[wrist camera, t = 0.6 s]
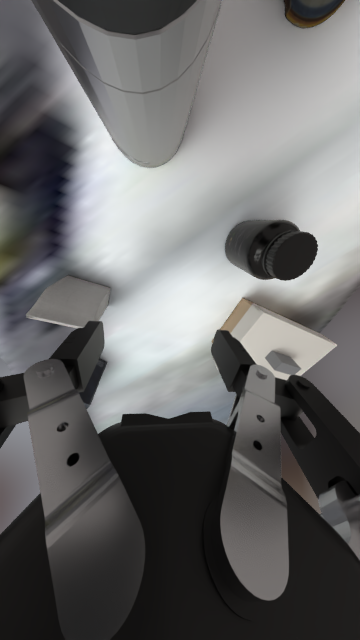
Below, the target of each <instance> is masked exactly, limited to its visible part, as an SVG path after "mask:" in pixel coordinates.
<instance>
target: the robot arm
mask: <svg viewBox="0 0 360 640" xmlns="http://www.w3.org/2000/svg"><path fill="white" fill-rule="evenodd" d="M32 2H33V4H34V5H35V7H36V9H37V11H38V12H39V14H40V15H41V17H42V19H43V21H44V22H45V24H46V26H47V27H48V29H49V31H50V33H51V34H52V36H53V38H54V39H55V41H56V43H57V45H58V46H59V48H60V50H61V51H62V53H63V55H64V57H65V58H66V60H67V62H68V64H69V65H70V67H71V69H72V70H73V72H74V74H75V76H76V77H77V79H78V81H79V82H80V84H81V86H82V88H83V89H84V91H85V93H86V95H87V96H88V98H89V100H90V101H91V103H92V105H93V107H94V108H95V110H96V112H97V113H98V115H99V117H100V119H101V120H102V122H103V124H104V126H105V127H106V129H107V131H108V132H109V134H110V136H111V138H112V140H113V141H114V143H115V144H116V146H117V147H118V149H119V150H120V151H121V152H122V153H123V154H124V156H125V157H127V158H128V159H129V160H130V161H132V162H133V163H135V164H137V165H139V166H142V167H147V168H152V167H158V166H161V165H163V164H165V163H166V162H167V161H169V160H170V159H171V158H172V157H173V155H174V154H175V153H176V151H177V149H178V147H179V146H180V144H181V141H182V138H183V135H184V131H185V128H186V124H187V121H188V118H189V114H190V111H191V107H192V104H193V101H194V97H195V94H196V90H197V87H198V83H199V80H200V76H201V73H202V69H203V66H204V62H205V59H206V55H207V52H208V48H209V45H210V41H211V38H212V35H213V31H214V28H215V24H216V21H217V17H218V14H219V10H220V6H221V3H222V0H32ZM103 348H104V330H103V323H102V321H88V322H87V324H86V325H85V326H84V328H78V329H76V330H74V331H73V332H71V333H70V335H69V336H68V337H67V338H66V339H65V340H64V342H63V343H62V344H61V345H60V346H59V348H58V349H57V350H56V351H55V352H54V353H53V355H52V356H51V357H50V358H49V359H48V360H43V361H40V362H38V363H35V364H34V365H32V366H31V367H29V368H28V369H27V370H26V371H25V373H21V374H16V375H11V376H5V377H0V448H1V447H2V445H3V443H4V442H5V441H6V439H7V437H8V436H9V434H10V433H11V431H12V430H13V428H14V427H15V425H16V424H18V423H22V422H25V421H28V422H29V428H30V434H31V439H32V445H33V450H34V457H35V463H36V468H37V475H38V480H39V486H40V492H41V493H40V494H39V495H38V496H37V497H36V498H35V499H34V500H33V501H32V502H31V503H30V504H29V505H28V507H26V508H25V510H23V512H22V513H21V514H20V515H19V516H18V517H17V518H16V519H15V520H14V521H13V522H12V523H11V524H10V525H9V526H8V527H7V528H6V529H5V530H4V531H3V532H2V533H1V534H0V640H360V433H359V432H358V431H357V430H356V429H355V428H354V427H353V426H352V425H351V424H350V423H349V422H348V420H347V419H346V418H345V417H344V416H343V415H342V414H341V413H340V412H339V411H338V410H337V409H336V408H335V407H334V406H333V405H332V404H331V403H330V402H329V400H328V399H327V398H326V397H325V396H324V395H323V394H322V393H321V392H320V391H319V390H318V389H317V388H316V387H315V386H314V385H313V384H312V383H311V382H310V381H308V380H307V379H305V378H303V377H301V376H298V375H290V376H289V378H288V379H287V380H284V379H280V378H276V377H275V376H274V375H273V373H272V372H271V371H270V370H268V369H267V368H265V367H263V366H261V365H257V364H256V363H255V361H254V360H253V359H252V357H251V356H250V355H249V353H248V352H246V349H245V348H244V347H243V345H242V344H241V343H240V341H238V340H237V339H236V338H234V337H232V335H231V334H230V332H229V331H228V330H217V331H216V334H215V337H214V340H213V344H212V347H211V353H212V356H213V358H214V360H215V363H216V365H217V367H218V369H219V372H220V374H221V376H222V379H223V381H224V383H225V385H226V388H227V390H228V392H236V396H235V399H234V402H233V406H232V409H231V412H230V416H229V419H228V422H227V425H225V424H223V423H221V422H219V421H217V420H214V419H212V416H211V413H210V412H189V413H186V414H183V415H180V416H177V417H174V418H170V419H167V418H162V417H158V416H154V415H150V414H123V416H122V421H121V422H120V423H117V424H114V425H112V426H110V427H108V428H106V429H105V430H103V431H102V432H100V433H99V434H97V431H96V429H95V427H94V425H93V423H92V420H91V418H90V416H89V414H88V412H87V410H86V407H85V405H84V403H83V401H82V399H81V397H80V394H79V392H84V390H85V388H86V386H87V384H88V382H89V379H90V377H91V375H92V373H93V371H94V369H95V366H96V364H97V362H98V360H99V358H100V355H101V353H102V351H103ZM302 412H304V413H305V414H306V416H307V417H308V418H309V420H310V421H311V422H312V424H313V425H314V427H315V428H316V432H317V435H316V437H315V438H314V437H313V435H312V434H311V433H310V431H309V430H308V428H307V427H306V426H305V424H304V423H303V421H302V420H301V418H300V417H299V415H300V414H301V413H302ZM281 433H282V435H283V437H284V439H285V440H286V442H287V444H288V446H289V448H290V450H291V451H292V453H293V455H294V457H295V458H296V460H297V462H298V464H299V466H300V467H301V469H302V471H303V473H304V475H305V476H306V478H307V480H308V482H309V483H310V485H311V487H312V489H313V491H314V492H315V494H316V496H317V498H318V500H319V506H320V509H321V512H322V513H321V514H318V513H317V512H316V511H315V510H314V509H313V508H312V507H311V506H310V505H309V504H308V503H307V502H306V501H305V500H304V499H303V498H302V497H301V496H300V495H299V494H298V493H297V492H296V491H295V490H294V489H293V488H292V487H291V486H290V485H289V484H288V483H287V482H286V481H285V480H283V478H281Z"/></svg>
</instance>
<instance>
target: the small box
mask: <svg viewBox="0 0 360 640" xmlns="http://www.w3.org/2000/svg"><path fill="white" fill-rule="evenodd" d="M106 364H107V362H105V361H103V360H101V359H99V360H98V362H97V364H96V366H95V369H94V371H93V373H92V375H91V377H90V379H89V382H88V384H87V386H86V388H85V390H84V392H79V394H80V397H81V399H82V401H83V403H84V405H85V407H86V409H87V408H88V407H89V406H90V405H91V402H92V400H93V397H94V394H95V392H96V389H97V387H98V384H99V381H100V379H101V376H102V374H103V371H104V369H105V367H106Z"/></svg>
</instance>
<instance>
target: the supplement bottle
mask: <svg viewBox="0 0 360 640" xmlns="http://www.w3.org/2000/svg"><path fill="white" fill-rule="evenodd" d="M317 247H318V244H317V241H316V239H315V237H313V235H312V234H310V233H308V232H300V230H299V228H298V227H297V226H296V225H295V224H294V223H292V222H290V221H287V220H253V221H245V222H242V223H240V224H238V225H237V226H236V227H235V228H234V229H233V230H232V231H231V232H230V234H229V235H228V237H227V240H226V244H225V253H226V256H227V258H228V260H229V261H230V262H231V263H232V264H234V265H235V266H237V267H238V268H240V269H242V270H244V271H245V272H247V273H249V274H250V275H252V276H254V277H256V278H258V279H263V280H268V279H273V278H277V279H280V280H285V281H286V280H291V279H295V278H297V277H299V276H300V275H302V274H303V273H304V272H306V271H307V269H309V268H310V266H311V265H312V264H313V261H314V260H315V257H316V255H317V250H318V248H317Z"/></svg>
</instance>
